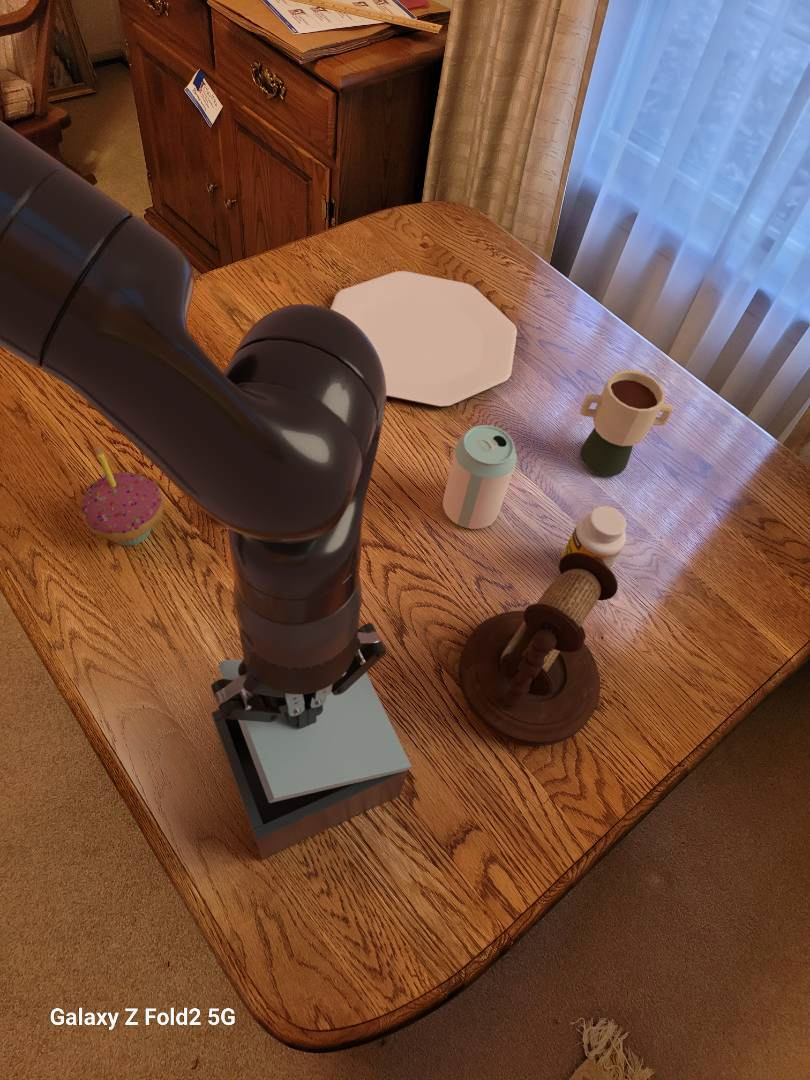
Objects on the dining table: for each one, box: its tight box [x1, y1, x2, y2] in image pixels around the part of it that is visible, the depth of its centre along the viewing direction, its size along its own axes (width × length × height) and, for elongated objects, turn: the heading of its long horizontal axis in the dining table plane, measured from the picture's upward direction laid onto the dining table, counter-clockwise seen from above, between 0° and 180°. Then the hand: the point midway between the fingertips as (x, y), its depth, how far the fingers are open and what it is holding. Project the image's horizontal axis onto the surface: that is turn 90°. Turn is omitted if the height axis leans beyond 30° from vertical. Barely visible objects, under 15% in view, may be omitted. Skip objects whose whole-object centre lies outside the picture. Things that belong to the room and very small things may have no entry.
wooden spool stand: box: [458, 552, 619, 747], centre depth 71 cm, size 15×15×20 cm
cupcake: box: [81, 447, 165, 547], centre depth 80 cm, size 9×8×12 cm
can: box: [442, 424, 518, 530], centre depth 87 cm, size 7×7×12 cm
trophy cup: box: [579, 369, 674, 478], centre depth 93 cm, size 11×7×13 cm, turn 86°
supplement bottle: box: [558, 505, 627, 570], centre depth 84 cm, size 6×6×10 cm
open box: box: [211, 709, 409, 861], centre depth 68 cm, size 14×12×8 cm
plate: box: [330, 270, 518, 408], centre depth 108 cm, size 28×28×2 cm
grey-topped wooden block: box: [217, 658, 412, 803], centre depth 62 cm, size 15×12×1 cm
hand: (302, 715), depth 60 cm, fingers closed
